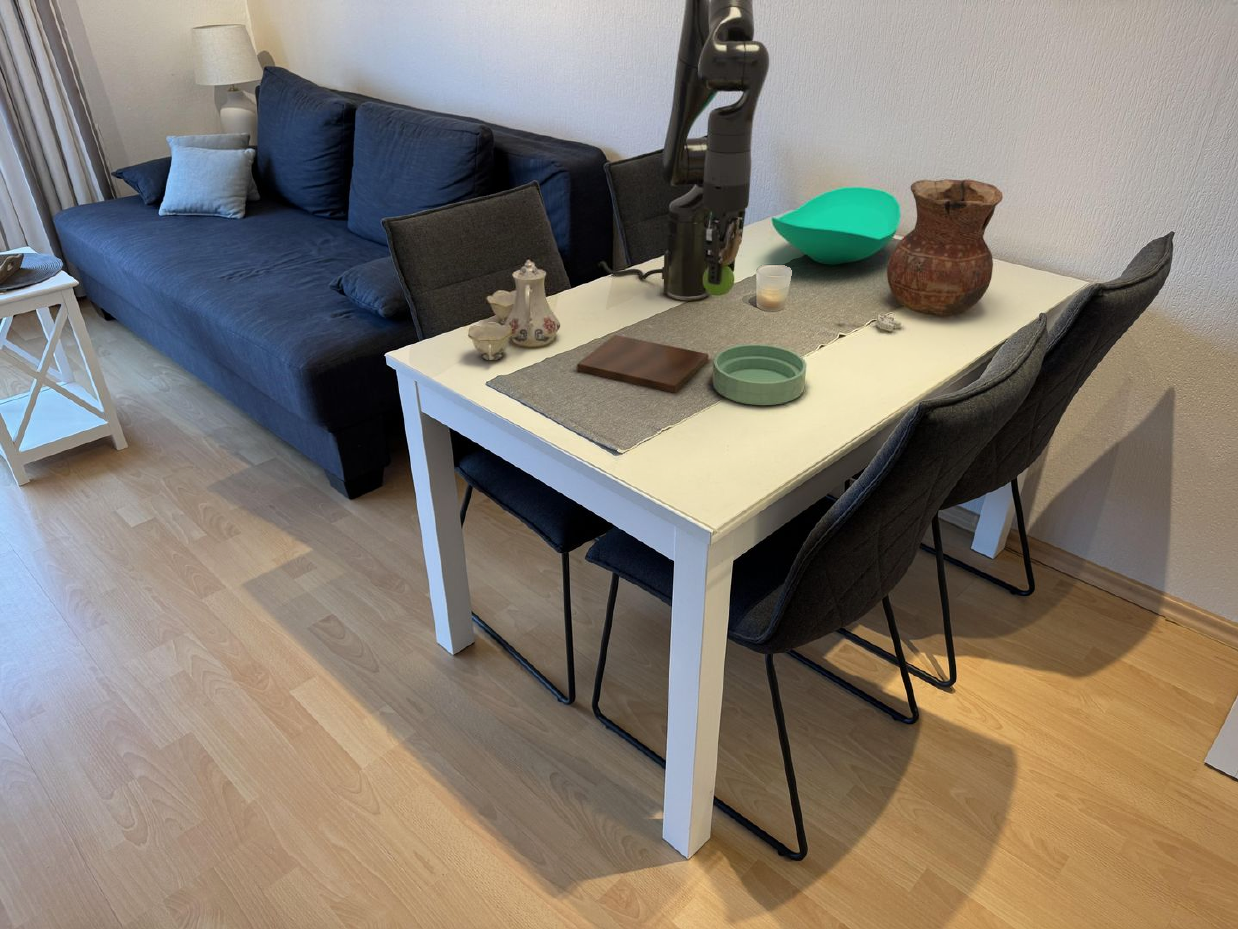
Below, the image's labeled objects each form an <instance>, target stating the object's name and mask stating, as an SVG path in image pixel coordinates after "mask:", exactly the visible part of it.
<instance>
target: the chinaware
mask: <svg viewBox="0 0 1238 929" xmlns="http://www.w3.org/2000/svg"><path fill="white" fill-rule="evenodd" d="M535 265H536V264H535V262H533V261H531V260H530V259H527V260H526V261H525V263H524V266H521V268H520V269H518V270H516V271H514V272H513V273H512V277H513V280H514V283H515V290H511V291H507V290H504V289H503V290H497V291H495V292H494V293H493V294H492V295H487V296H486V297H485V299H486V302H488V304H489V305H490V308H491V310H492V312H493V313H494V314H495V316H496V317H497V318H499V319H501V324H500V323H499V322H496V321H488V322H484V323H483V324H481V325H472V326H470V327H469V328H468V334H467V338H468V339H469V340H471V341H472V344H473V347H474V348H475V349H476V350H477V351H478V352H479V353H480V354H483V355H482V357H483V358H484V359H485V360H487V361H495V360H498V359H500V358H502V357H503V355H502V354H501V353H503V352H504V351H505V350H506V349H507V348H508V346H509V343H510V337H512V338H511V342H513V344H514V345H516V346H519V347H523V348H541V347H544V346H548V345H550V344H552V343H553V342H554V341H555V335H556V334H557V332H558V331H560V328H561V323H560V321H559V319H558V318H557V316H556V315H555V314H554V312H553V310H552V308H551V307H550V305H549V302H548V299H547V296H546V290H545V279H546V275H547V272H546V271H545V270H543V269H540V268H537V266H535Z"/></svg>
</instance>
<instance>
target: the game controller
mask: <svg viewBox="0 0 1238 929" xmlns="http://www.w3.org/2000/svg"><path fill="white" fill-rule="evenodd" d="M861 322H863V320H862V321H860V323H861ZM846 323H849V324H850V322H848V321H847V322H846V321H845V322H842V324H846ZM870 323H872V324H873V321H870ZM875 324H876V326H877V327H878V328H879V329H881V330H884V331H888V332H893V330H894V329H895V330H897V329H898V330H900V328H901V325H902V322H901V321H898V320H896V319H895V318H894V317H893V316H892V315H890V314H884V313H879V314H878V315H877V317H876V320H875Z"/></svg>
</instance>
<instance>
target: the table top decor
mask: <svg viewBox="0 0 1238 929" xmlns="http://www.w3.org/2000/svg"><path fill="white" fill-rule="evenodd" d="M901 213H902V212H901V204H900V203H899V202H898V200H897V199H896V197H895V196H894V195H892V194H891V193H889V192H887V191H885V190H883V189H882V190H881V189H877V188H872V187H863V186H850V187H849V186H848V187H847V186H846V187H839V188H836V189H833V190H829V191H825V192H823V193H821V194H819V195H817V196H814V197H813V198H811V199H809V200H808V201H806V202H805V203H804V204H802V205H801V206H800V207H798V208H796V209H794V210H792V211H789V212H787V213H785V214H783V215H781V216H780V217H774V216H772V217H771V223H772V226H773V228H774V229H775V231H776V232H777V234H778V235H779V236H780V237H782V238H783V239H784V240H786V241H787V243H789V244H790V245H791V246H793V247H795V249H797V250H798V251H801V252H802V253H803V254H805V255H807V256H808V257H810V258H811V259H812V260H813V261H814V262H816V263H819V264H823V265H830V266H833V265H842V264H848V263H854V262H857V261H860V260H861V261H862V260H864V259H866V258H868V257H871V256H873V255H874V254H876V253H877V252H878V251H880V250H881V249H882V248H884V247H885V246H886V245H887V244H888V243H889V242H890V241H891V240H892V239H893V238H894V237H895V235H896V232H897V230H898V228H899V224H900V220H901V217H902V214H901Z"/></svg>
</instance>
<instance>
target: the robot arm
mask: <svg viewBox="0 0 1238 929" xmlns="http://www.w3.org/2000/svg"><path fill="white" fill-rule="evenodd" d="M753 1H754V0H685V3H684V12H683V17H682V27H681V30H680V31H681V32H680V39H679V45H678V49H677V50H678V51H677V57H676V64H675V65H676V66H675V73H674V74H675V76H674V86H673V96H672V104H671V110H670V116H669V121H668V126H667V130H666V136H665V140H664V145H663V151H662V157H661V172H662V178H663V180H664V182H665V183H666V184H667V186H670V187H671V186H672V187H682V186H684V187H686V186H693V187H692V188H691V190H690V191H689V192H687V193H686V194H684V195H682V196H681V197H677V198H676V199H674V200H673V201H671V202H670V204H669V206H668V222H667V223H668V227H667V228H668V229H667V230H668V232H667V234H668V235H667V250H666V251H665V252H664V253H663V267H661V268H656V269H651V270H648V271H646V272H645V273H643V270H641V269H638V268H629V269H624V270H612V269H611V268H610V267H609V266H608V264H607V263H606V261H600V262H599V263H598V264H597V267H598V268H602V267H603V269H604V271H605V272H606V273H607V274H608V275H612V276H624V275H627V274H638V277H639V279H641V280H645V279H647V278H648V277H650V276H651V275H657V274H661V279H662V280H663V287H662V289H663V291H662V292H663V293H662V294H663V295H665V296H668V297H669V298H671V299H675V300H678V301H687V302H688V301H689V302H690V301H698V300H703V299H705V298H706V297H708V296H709V294H710V293H709V292H708V291H707V290H706V289H705V287H704V285H703V275H704V272H705V271H706V269H707V268H708V267H709V269H708V282H709V283H710V284H715V285H719V284H720V283H721V282H722V266H723V263H722V262H723V257H724V252H725V250H727V249H728V246H729V242H730V244H731V250H732V247H733V238H734V237H735V236H737V235H738V236H739V233H738V230H740V229H742V230H743V231H742V232H741V233H740V236H741V239H742V240H741V243H740V245H741V244H742V242H743V233H744V226H745V219H746V212H747V211H746V209H747V208H748V207H749V204H750V191H751V190H750V189H751V176H752V142H753V141H752V138H753V127H754V120H755V114H756V110H757V106H758V103H759V99H760V96H761V93H762V90H763V88H764V85H765V82H766V79H767V76H768V74H769V69H770V54H769V51H768V49H767V47H766V45H765V44H764V43H763V42H762V41H759V40H754V38H755V21H754V20H755V19H754V8H753V3H754V2H753ZM721 92H723V93H726V92H727V93H728V92H730V93H731V92H733V93H735V92H736V93H737V92H739V93H741V92H742V94H741V96H740V97H739V99H738V100H737V101H735V102H733V103H732V104H727V105H724V106H719V107H717V108H714V109H712V110H711V111H710V112H709V114H708V118H707V132H706V137H689V134H690V132H691V129H692V127H693V126H694V124H695V123H696V121H697V120H698V118H699V117H700V115H702V114H703V112H704V111H705V110H706V109H707V107H708V106H709V105H710V104H711V103H712V101H713V100H714V99H715V97H716V96H717V95H718V93H721ZM719 241H720V242H724V243H723V244H719ZM719 249H720V251H719ZM713 252H714V255H713ZM727 266H728V267H729V268H730V269H731V270H732V271H733V273H734V272H735V266H736V259H735V260H734V261H733V262H732V263H731V264H729V265H727Z"/></svg>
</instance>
